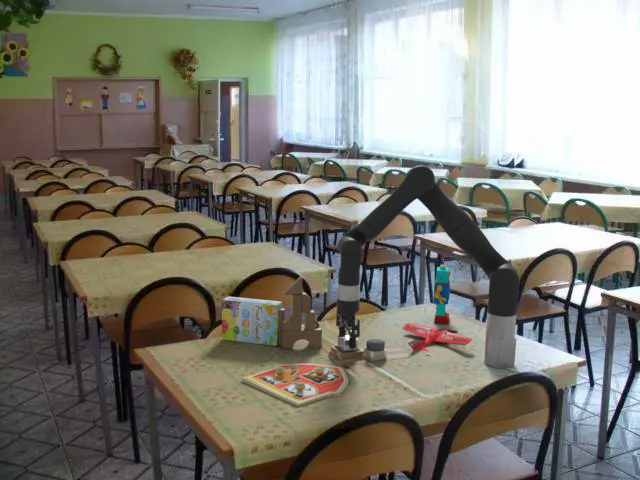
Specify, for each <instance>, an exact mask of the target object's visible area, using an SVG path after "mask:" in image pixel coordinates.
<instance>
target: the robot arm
mask: <svg viewBox="0 0 640 480" xmlns="http://www.w3.org/2000/svg"><path fill="white" fill-rule="evenodd" d="M435 180H436V176H435V173H434V171H433V170H432V169H431V168H429V167H428V166H426V165H416V166H413V167H412V168H410V169H409V170H407V171H406V172H405V175H404V180H402V182H401V183H400V185H399V186H398V187H397V188H396V189H395V190H394V191H393V192H392V194H390V195H389V196H388V197H387V198H386V199H384V201H382V202H381V203H379V205H378V206H376V207H375V208H374V209H373V210H372V211H370V212H369V214H367V216H365V217H364V218H363V219H362V220H361V221H360V223H359V224H357V225H356V226H355V227H353V228H351V230H349V231H347V232H346V233H345V234H344V235H343V236H342V237H341V238H340V240H338V243H337V250H338V253H339V254H340V267H339V269H338V273H337V274H338V276H337V277H338V278H337V289H336V291H337V292H336V318H335V319H336V320H335V325H336V327H337V328H338V336H345V335H347V333H348V335H349V348H350V349H353V348H356V338H360V336H361V335H360V334H361V333H360V332H361V326H360V324H361V323H360V321H361V320H360V318H356V314H357V313H359V312H360V309H361V308H360V307H361V304H360V303H361V301H360V299H361V286H360V282H361V281H360V279H361V275H360V274H361V273H360V269H361V265H362V261H363V260H362V259H363V246H364V245H365V244H367V243H368V242H370V241H371V242H372V241H373V240H375V239H376V238H377V237H378V236H379V235H380V234H382V232H384V230H386V228H387V227H389V225H390V224H392V222H393V221H394V220H395V219H396V218H397V217H398V216H399V215H400V214H401V213H402V212H403V211H404V210H405V209H406V208H407V207H408V206H409V205H410V204H412V203H413V202H414V201H416V199H417V200H418V201H419V202H420V203H421V204H422V205H423V206H424V207H425V208H427V210H428V211H429V212H430V214H431V215H432V216H433V218H434V219H435V221H436V222H437V224H438V225H439V226H440V227H441V229H442V230H443V231H444V233H445V234H446V235H447V236H448V237H449V238H450V239H451V241H452V242H453V243H454V244H455V245H456V246H457V247H458V249H460V250H461V251H462V252H463V253H465V254H466V255H467V256H468V257H471V258H472V260H474V261H475V262H476V263H477V264H478V266H479V267H480V268H481V269H482V270H483V272H484V273H485V275H486V277H487V278H488V280H489V287H488V299H487V300H488V301H487V302H488V303H487V313H486V324H485V325H486V328H485V343H484V363H485V364H486V365H488V366H491V367H494V368H497V369H504V368H511V367H515V363H516V362H515V361H516V360H515V359H516V348H517V338H516V323H517V311H518V305H519V304H518V303H519V293H520V277H519V273H518V271H517V269H516V268H515V266H513V265H512V264H511V263H510V262H509V261H508V260H507V259H506V258H505V257H503V255H501V254H500V252H498V251H497V249H496V248H495V247H493V245H492V244H491V242H490V241H489V239H488V238H487V236H486V235H485V234H484V232H483V231H482V229H480V227H479V226H478V224H477V223H476V222H475V221H474V220H473V219H472V217H470V215H469V214H468V213H467V212H466V211H464V210H463V209H462V207H460V206H459V205H458V204H457V203H455V202H454V201H453V200H452V199H450V198H449V197H448V196H447V195H446V194H445V192H443V190H442V189H441V188H440V187H439V185H438V184H437V183H436V181H435Z"/></svg>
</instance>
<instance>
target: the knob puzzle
mask: <svg viewBox="0 0 640 480" xmlns="http://www.w3.org/2000/svg"><path fill="white" fill-rule="evenodd" d="M241 382H242V383H244V384H247V385H249V386H250V387H253V388H256V389H257V390H260V391H262V392H264V393H266V394H269V395H270V396H273V397H275V398H277V399H279V400H282V401H284V402H286V403H288V404H290V403H291V405H293V404H294V405H293V406H295V407H297V406H299V407H302V406H301V405H303V406H306V405H308V404H307V403H309V404H311V403H310V402H312V403H314V402H313V401H315V402H317V401H316V400H318V401H320V400H319V399H321V400H323V399H322V398H324V399H327V398H330V397H339V396H341V395H342V394H343V393H344V392H343V391H345V390H346V389H347V387H348V386H349V378H348V375H347V373H346V372H345V370H344V368H343V367H342V366H337V365H331V364H322V363H313V362H311V363H310V362H308V363H307V362H296V363H281V364H280V363H279V364H274V365H273V367H271V368H267V369H264V370H260V371H257V372H255V373H252V374H249V375H245V376H243V377H242V378H241ZM347 385H348V386H347ZM345 388H346V389H345ZM342 392H343V393H342ZM341 393H342V394H341ZM340 394H341V395H340ZM338 395H339V396H338ZM329 396H330V397H329ZM326 397H327V398H326ZM305 404H306V405H305Z"/></svg>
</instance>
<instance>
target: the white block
mask: <svg viewBox="0 0 640 480" xmlns="http://www.w3.org/2000/svg"><path fill="white" fill-rule="evenodd" d="M358 340H359V339H358V337H356V348H353V349H350V348H349V334H348V335H347V334H346V335H345V336H339V335H338V336H337V345H338V351H340V352H341V353H346V352H355V351H357V349H358V347H359V346H358V345H359V341H358Z"/></svg>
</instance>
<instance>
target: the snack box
mask: <svg viewBox="0 0 640 480" xmlns="http://www.w3.org/2000/svg"><path fill="white" fill-rule="evenodd" d="M280 308H283V301H278V300H269V299H267V300H266V299H258V298H247V297H237V296H226V297H224V298H223V299H222V300H221V340H223V341H231V342H237V343H239V342H240V343H249V344H254V345H255V344H257V345H264V346H265V345H266V346H272V347H277V346H279V345H278V310H279V309H280Z"/></svg>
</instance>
